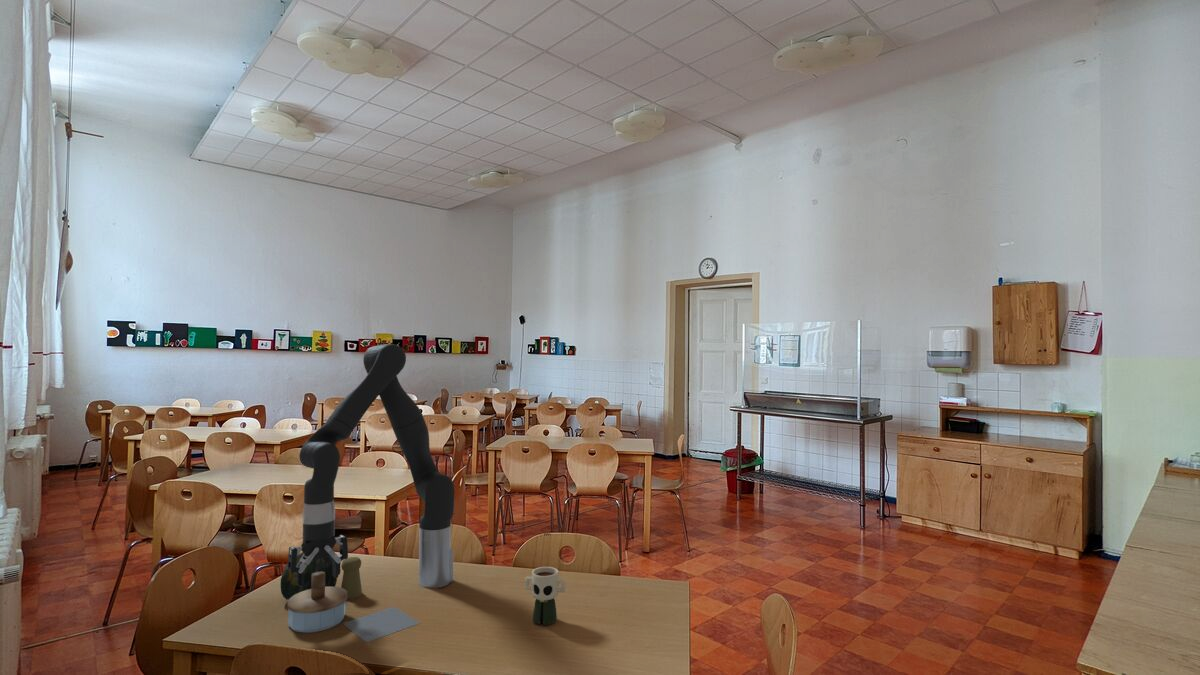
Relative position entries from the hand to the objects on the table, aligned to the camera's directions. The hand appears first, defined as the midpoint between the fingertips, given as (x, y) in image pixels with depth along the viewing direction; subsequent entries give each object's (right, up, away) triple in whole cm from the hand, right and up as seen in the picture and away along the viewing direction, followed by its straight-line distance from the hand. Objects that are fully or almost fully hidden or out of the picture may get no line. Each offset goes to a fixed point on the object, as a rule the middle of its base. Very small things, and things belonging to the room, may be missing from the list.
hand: (318, 581), depth 153 cm
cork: (+2, -11, +16) cm, 20 cm away
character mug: (+59, -11, +1) cm, 60 cm away
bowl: (0, -11, 0) cm, 11 cm away
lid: (0, -5, 0) cm, 5 cm away
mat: (+17, -11, -1) cm, 20 cm away
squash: (-10, -11, +17) cm, 23 cm away
